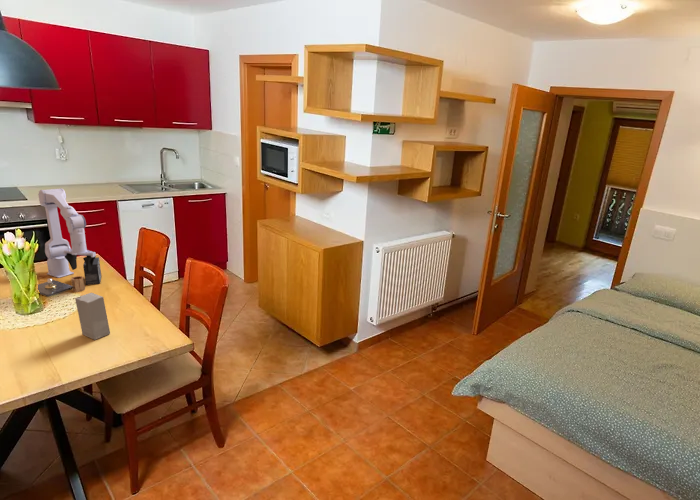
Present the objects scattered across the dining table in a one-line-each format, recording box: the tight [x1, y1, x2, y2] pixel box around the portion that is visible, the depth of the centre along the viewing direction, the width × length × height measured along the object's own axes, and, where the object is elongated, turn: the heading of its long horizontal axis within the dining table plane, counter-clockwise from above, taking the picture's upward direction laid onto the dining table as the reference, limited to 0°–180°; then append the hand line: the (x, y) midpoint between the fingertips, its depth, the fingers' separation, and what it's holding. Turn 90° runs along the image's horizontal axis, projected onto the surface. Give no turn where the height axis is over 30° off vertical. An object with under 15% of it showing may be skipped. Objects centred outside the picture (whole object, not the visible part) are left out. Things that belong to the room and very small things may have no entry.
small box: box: [82, 256, 102, 286], centre depth 217 cm, size 11×6×10 cm, turn 25°
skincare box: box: [74, 292, 111, 341], centre depth 166 cm, size 8×7×16 cm
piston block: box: [37, 278, 73, 298], centre depth 205 cm, size 15×12×5 cm
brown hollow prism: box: [70, 275, 86, 293], centre depth 206 cm, size 5×5×6 cm
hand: (81, 269), depth 205 cm, fingers open, 7 cm apart
